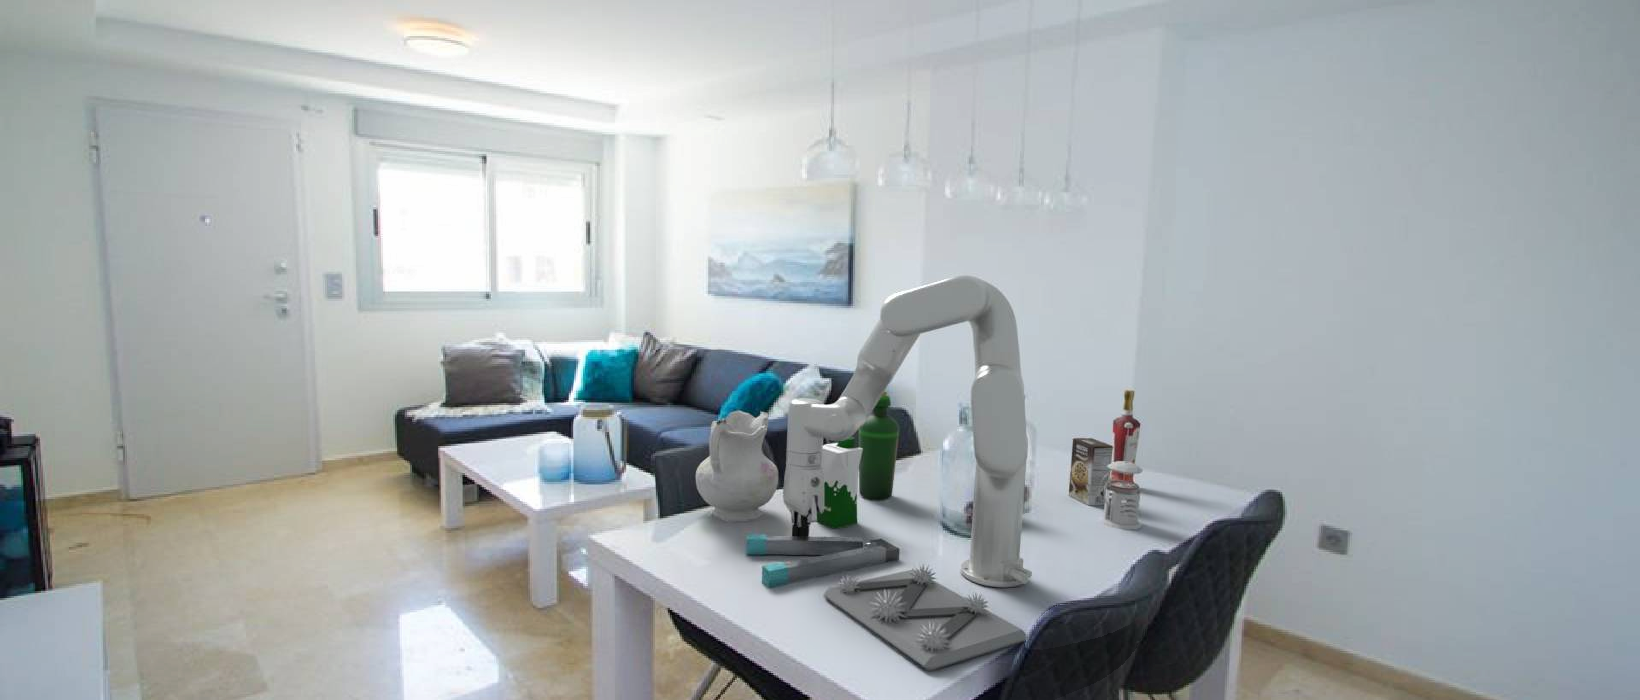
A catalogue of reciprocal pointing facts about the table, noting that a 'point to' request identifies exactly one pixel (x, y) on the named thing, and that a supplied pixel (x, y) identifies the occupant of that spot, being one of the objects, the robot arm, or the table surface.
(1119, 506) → the french press
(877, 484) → the bottle
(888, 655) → the table surface
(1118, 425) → the liquor
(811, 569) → the base
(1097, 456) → the cookie box
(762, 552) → the tongs arm
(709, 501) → the ceramic pitcher
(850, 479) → the milk carton
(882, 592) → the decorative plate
